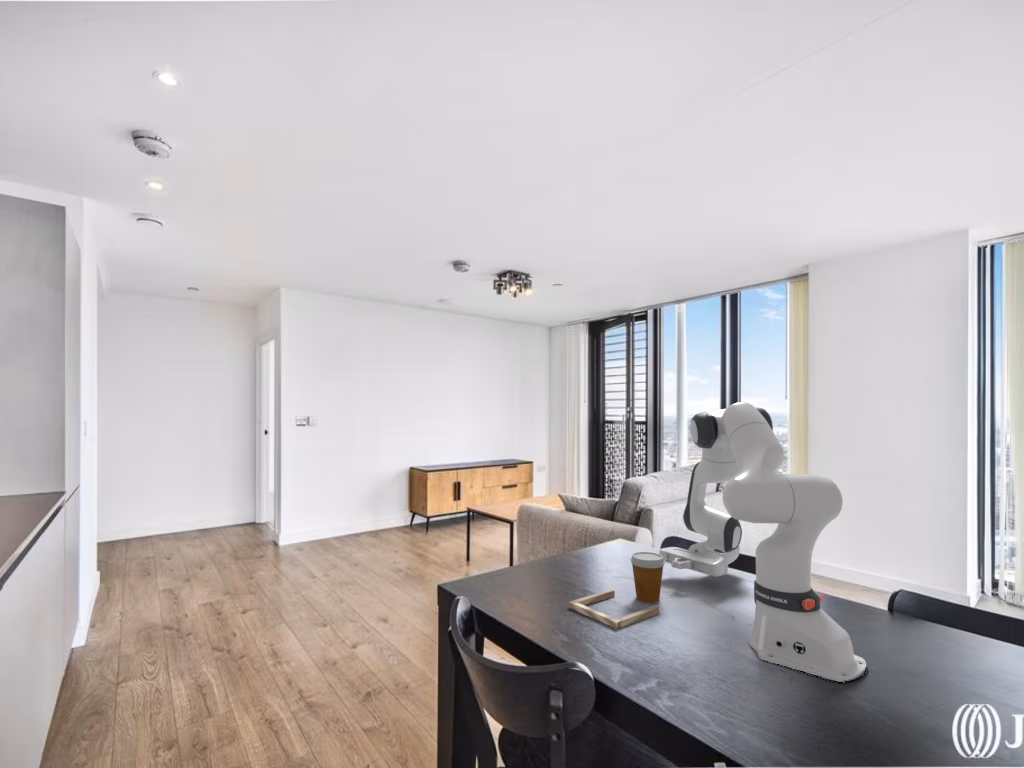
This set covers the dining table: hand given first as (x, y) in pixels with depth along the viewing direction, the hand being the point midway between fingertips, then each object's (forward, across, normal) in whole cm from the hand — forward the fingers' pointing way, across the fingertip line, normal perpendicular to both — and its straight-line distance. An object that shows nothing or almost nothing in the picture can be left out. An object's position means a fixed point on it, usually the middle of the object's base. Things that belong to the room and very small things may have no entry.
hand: (675, 565), depth 157 cm
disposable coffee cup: (+13, 0, +7) cm, 15 cm away
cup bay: (+27, 0, +7) cm, 28 cm away
